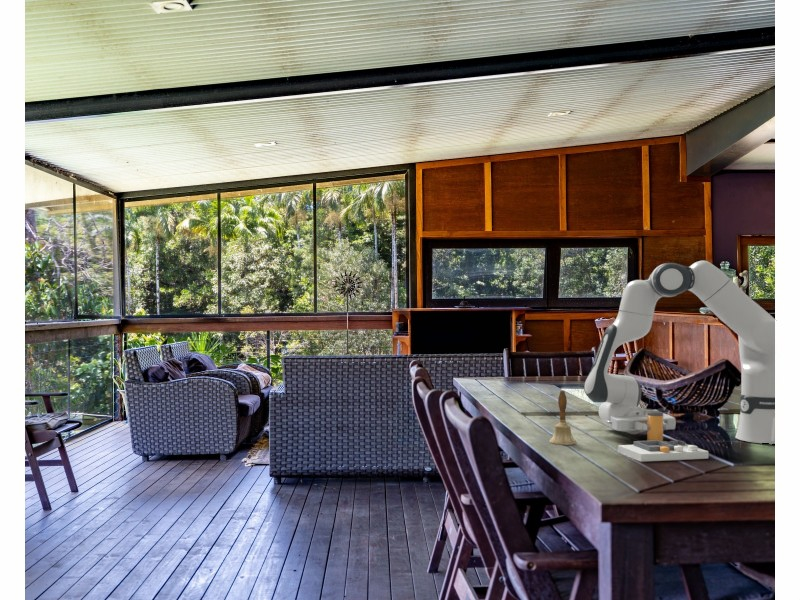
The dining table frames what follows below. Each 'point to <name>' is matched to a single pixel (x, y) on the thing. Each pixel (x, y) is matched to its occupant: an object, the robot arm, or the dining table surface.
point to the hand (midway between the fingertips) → (656, 427)
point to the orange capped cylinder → (655, 425)
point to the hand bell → (562, 425)
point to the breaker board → (662, 451)
